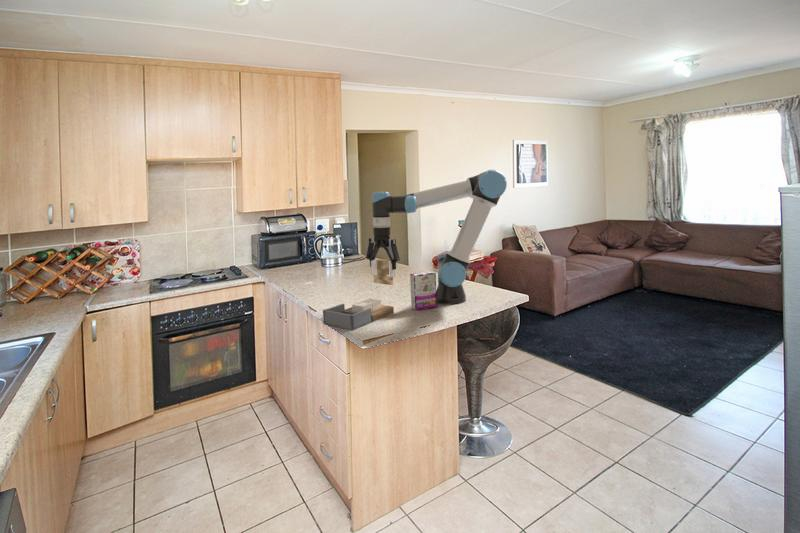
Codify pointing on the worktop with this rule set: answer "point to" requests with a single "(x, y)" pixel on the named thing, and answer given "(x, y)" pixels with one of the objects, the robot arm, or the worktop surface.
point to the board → (379, 312)
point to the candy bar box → (423, 290)
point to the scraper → (383, 273)
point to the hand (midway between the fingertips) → (383, 275)
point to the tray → (346, 317)
